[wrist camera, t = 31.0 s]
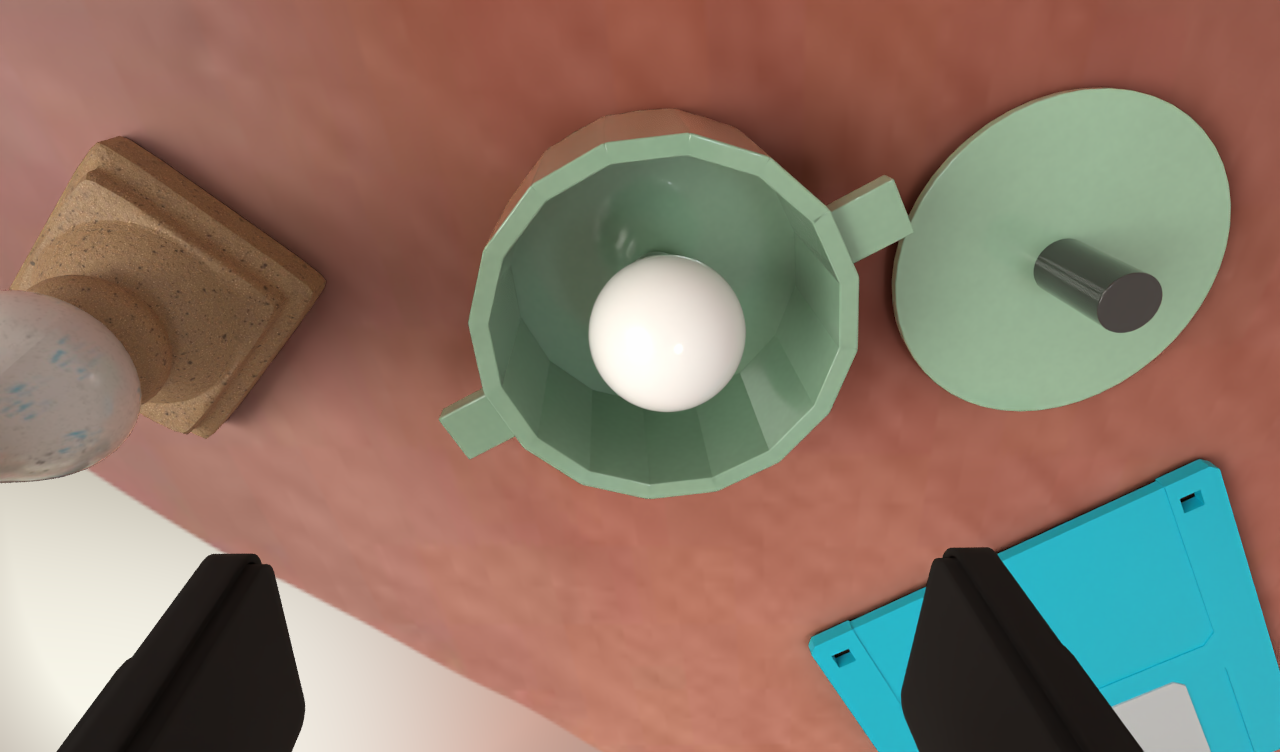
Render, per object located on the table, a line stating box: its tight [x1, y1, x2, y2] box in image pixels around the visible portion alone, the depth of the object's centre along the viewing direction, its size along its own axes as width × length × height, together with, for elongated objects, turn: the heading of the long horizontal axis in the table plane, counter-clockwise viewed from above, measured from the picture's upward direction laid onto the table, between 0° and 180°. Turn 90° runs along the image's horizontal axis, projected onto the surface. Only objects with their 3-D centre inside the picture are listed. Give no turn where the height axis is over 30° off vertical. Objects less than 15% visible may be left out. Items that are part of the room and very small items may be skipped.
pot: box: [439, 108, 914, 499], centre depth 34 cm, size 16×21×8 cm
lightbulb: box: [588, 252, 746, 412], centre depth 33 cm, size 6×6×11 cm
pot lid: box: [892, 87, 1231, 411], centre depth 36 cm, size 17×17×7 cm
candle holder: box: [0, 136, 326, 483], centre depth 27 cm, size 11×11×24 cm
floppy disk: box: [809, 459, 1280, 752], centre depth 52 cm, size 26×28×1 cm
